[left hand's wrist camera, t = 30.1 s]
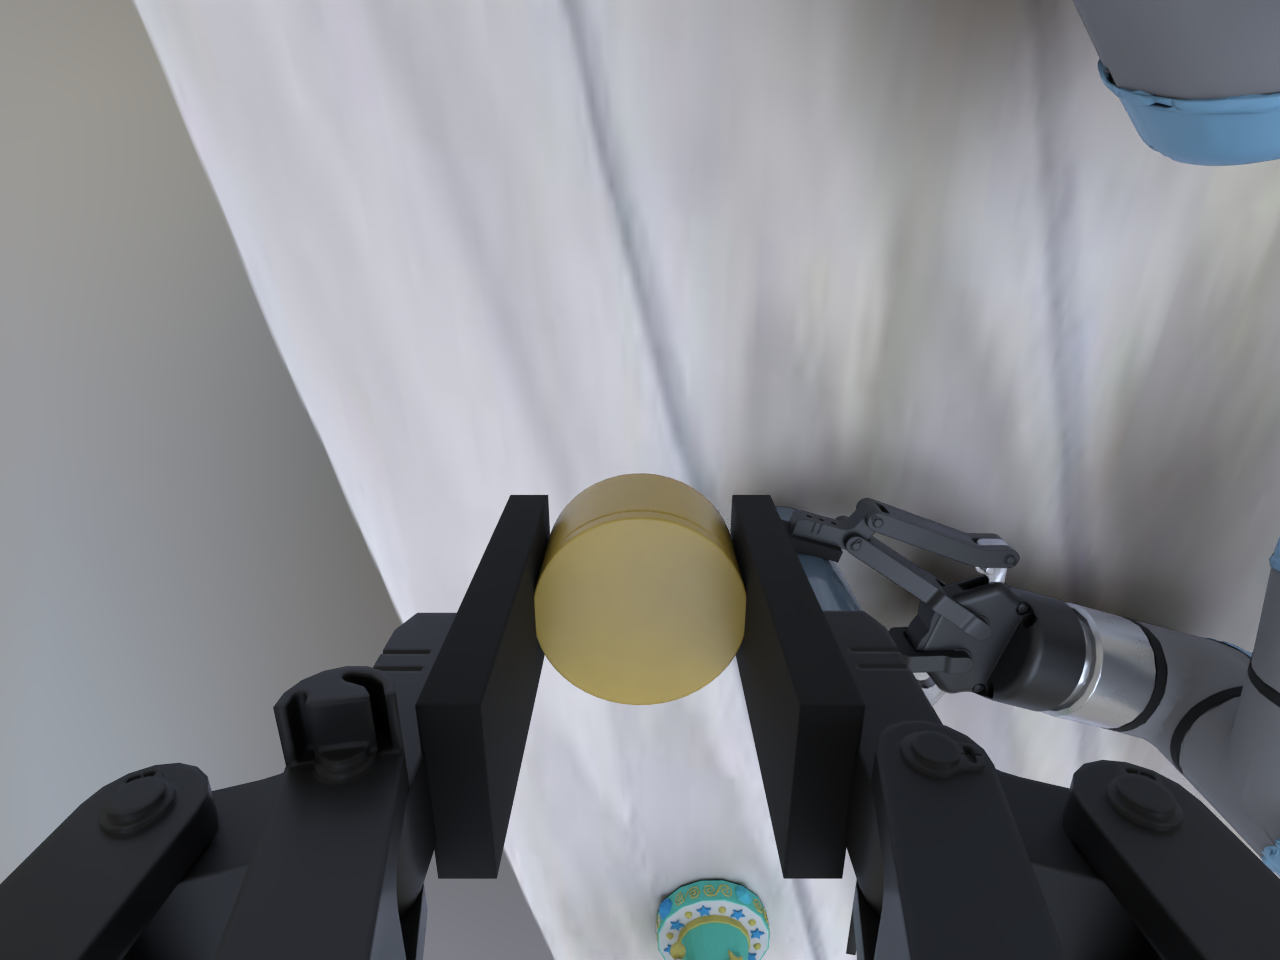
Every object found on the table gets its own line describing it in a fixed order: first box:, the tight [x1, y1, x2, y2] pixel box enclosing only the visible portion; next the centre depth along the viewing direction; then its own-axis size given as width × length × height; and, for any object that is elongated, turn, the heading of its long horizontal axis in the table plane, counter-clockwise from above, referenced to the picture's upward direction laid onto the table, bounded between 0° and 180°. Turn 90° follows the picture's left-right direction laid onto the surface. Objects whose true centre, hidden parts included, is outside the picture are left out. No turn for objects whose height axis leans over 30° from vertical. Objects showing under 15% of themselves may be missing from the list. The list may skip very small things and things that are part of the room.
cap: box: [534, 474, 746, 705], centre depth 14 cm, size 4×4×2 cm
